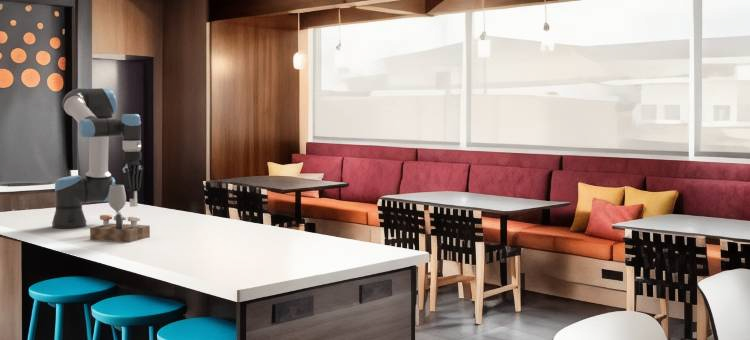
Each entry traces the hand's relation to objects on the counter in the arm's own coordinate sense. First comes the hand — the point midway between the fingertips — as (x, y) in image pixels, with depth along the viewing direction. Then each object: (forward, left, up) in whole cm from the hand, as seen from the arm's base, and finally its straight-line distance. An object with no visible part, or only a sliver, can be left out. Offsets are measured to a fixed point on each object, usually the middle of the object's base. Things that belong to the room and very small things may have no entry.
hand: (133, 206), depth 363 cm
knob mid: (-7, 0, -11) cm, 13 cm away
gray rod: (-4, -5, -9) cm, 11 cm away
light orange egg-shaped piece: (-14, 0, -11) cm, 18 cm away
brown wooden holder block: (-7, 0, -14) cm, 16 cm away
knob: (0, 0, -11) cm, 11 cm away
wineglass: (-19, +15, -14) cm, 28 cm away
